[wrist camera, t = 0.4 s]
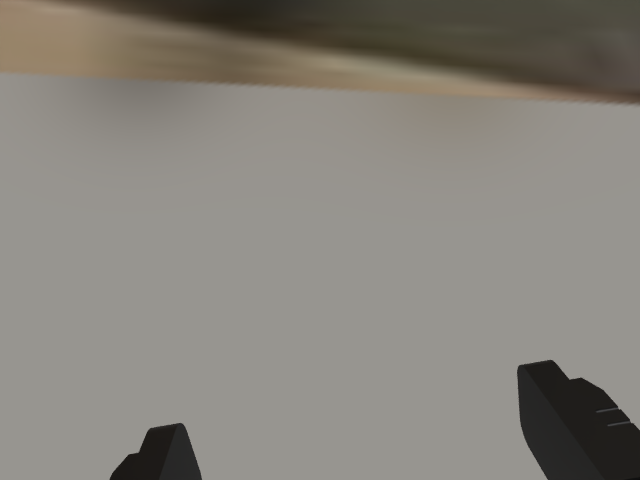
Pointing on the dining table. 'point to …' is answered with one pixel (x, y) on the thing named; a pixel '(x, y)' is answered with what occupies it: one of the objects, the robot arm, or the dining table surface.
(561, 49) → the dining table surface
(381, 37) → the dining table surface
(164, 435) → the robot arm
